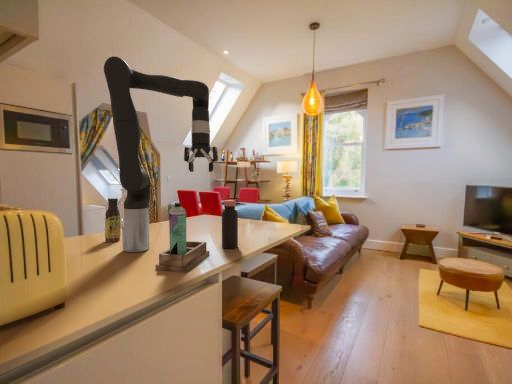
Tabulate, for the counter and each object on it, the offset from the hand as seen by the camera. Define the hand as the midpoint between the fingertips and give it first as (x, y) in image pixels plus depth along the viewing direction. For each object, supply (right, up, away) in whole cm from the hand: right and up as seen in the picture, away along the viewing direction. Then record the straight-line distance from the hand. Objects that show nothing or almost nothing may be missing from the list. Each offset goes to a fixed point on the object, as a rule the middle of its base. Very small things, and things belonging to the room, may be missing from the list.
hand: (201, 171), depth 111 cm
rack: (-2, -33, -17) cm, 38 cm away
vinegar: (+12, -32, +2) cm, 35 cm away
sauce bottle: (-43, -32, +11) cm, 55 cm away
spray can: (-3, -32, -22) cm, 39 cm away
